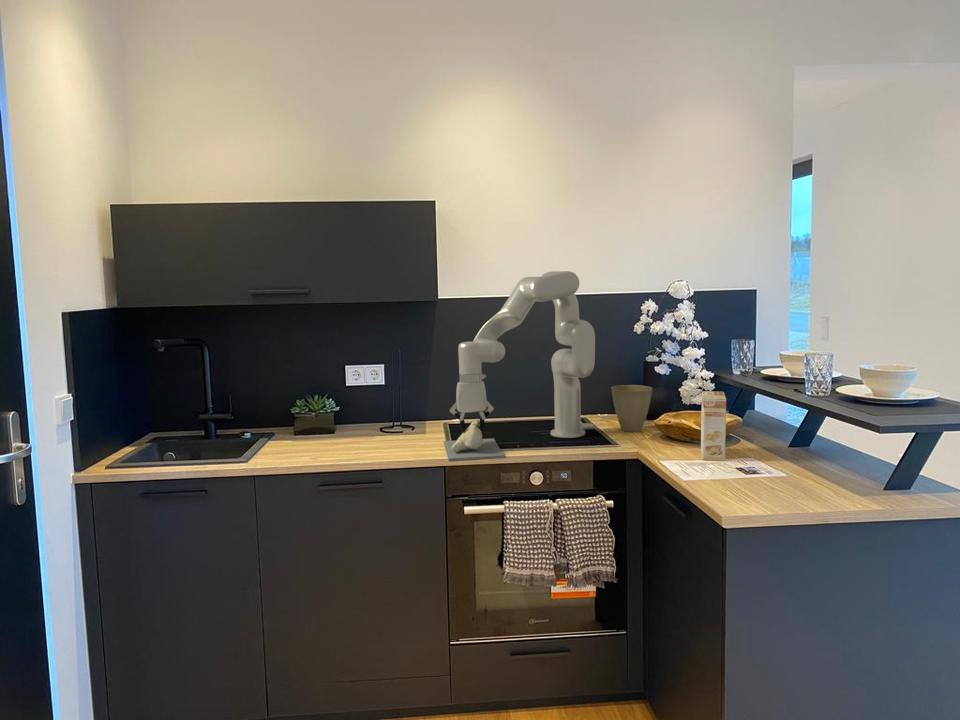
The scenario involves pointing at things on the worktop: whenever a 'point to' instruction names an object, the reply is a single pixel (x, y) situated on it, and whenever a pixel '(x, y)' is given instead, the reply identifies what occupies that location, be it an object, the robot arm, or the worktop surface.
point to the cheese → (469, 438)
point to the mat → (474, 451)
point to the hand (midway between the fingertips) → (472, 430)
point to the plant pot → (631, 405)
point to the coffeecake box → (713, 425)
